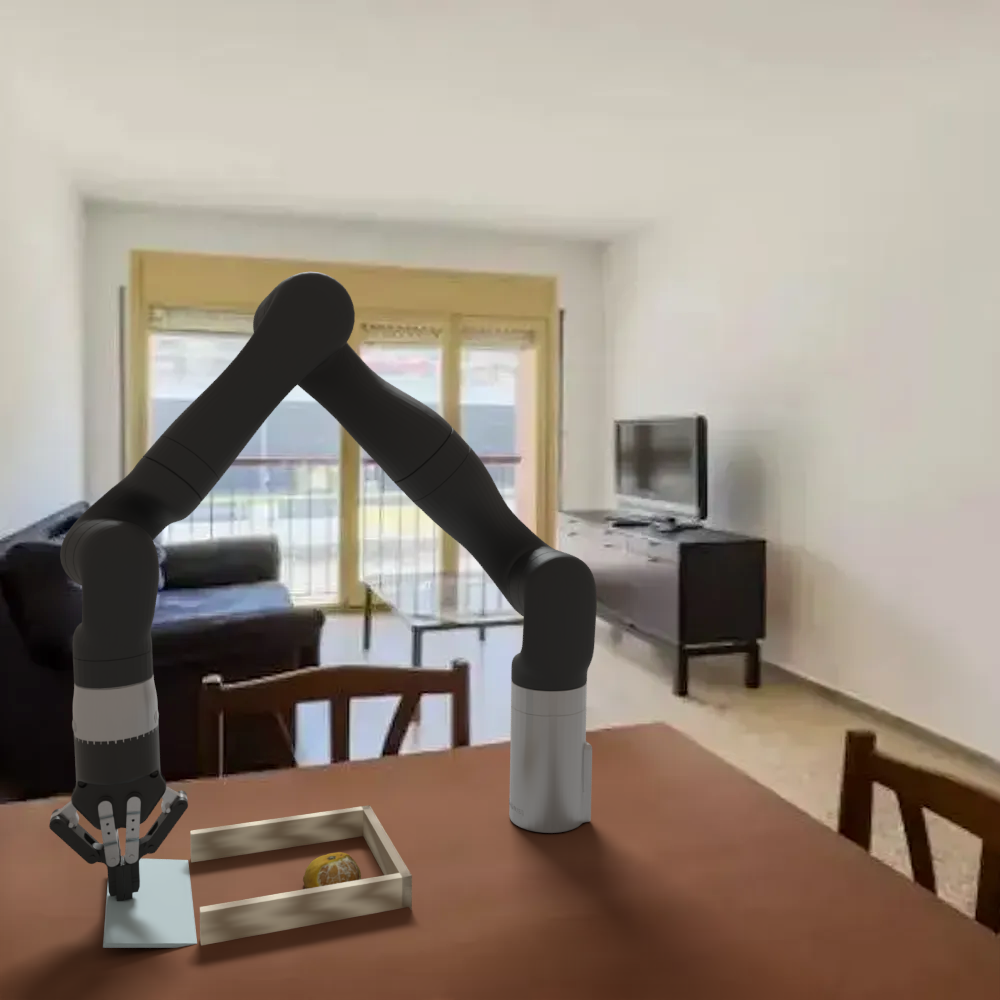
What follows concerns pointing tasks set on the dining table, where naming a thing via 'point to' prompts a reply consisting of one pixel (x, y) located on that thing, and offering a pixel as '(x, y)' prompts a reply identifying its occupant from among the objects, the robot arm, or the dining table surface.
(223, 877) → the dining table surface
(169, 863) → the panel
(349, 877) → the fruit
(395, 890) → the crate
